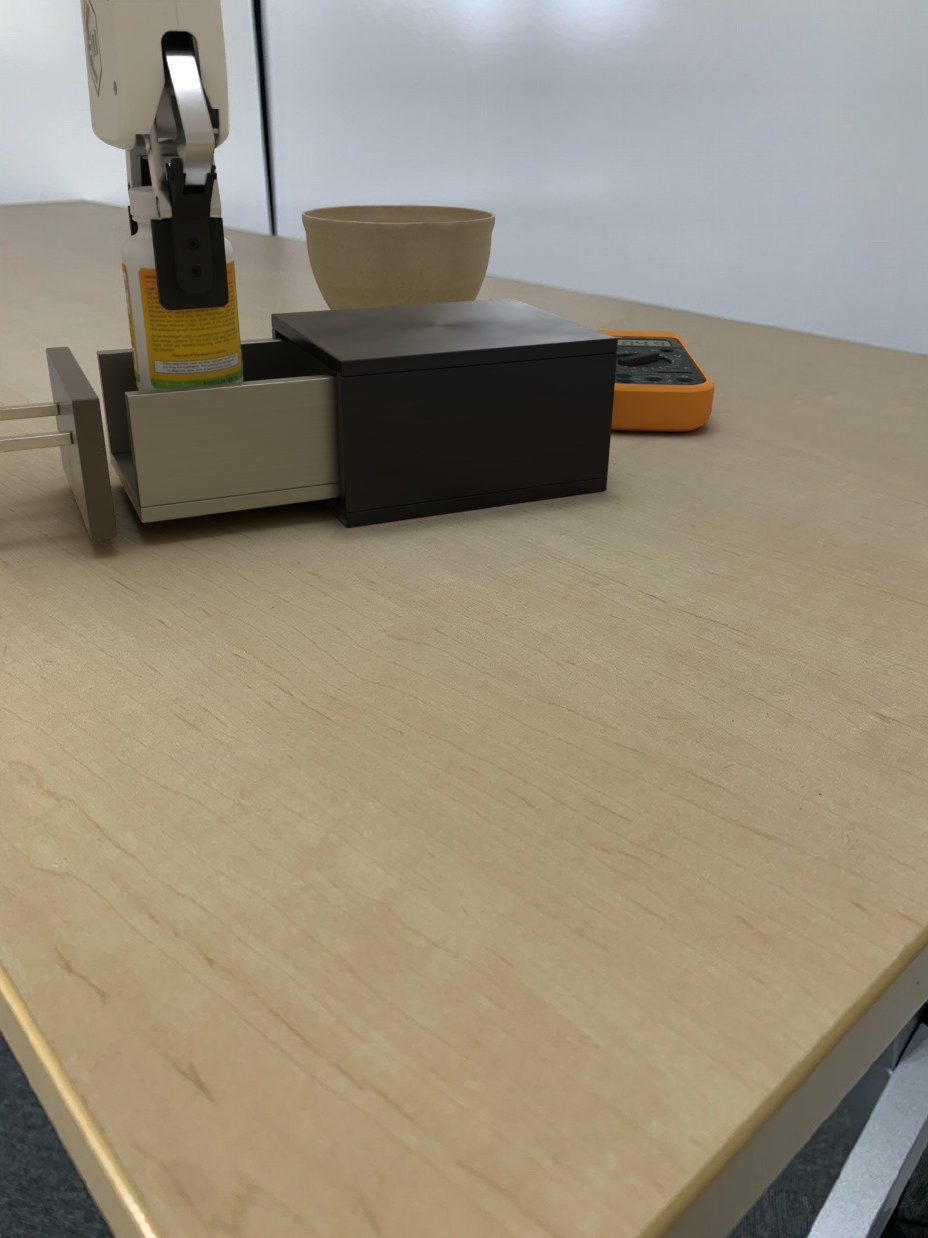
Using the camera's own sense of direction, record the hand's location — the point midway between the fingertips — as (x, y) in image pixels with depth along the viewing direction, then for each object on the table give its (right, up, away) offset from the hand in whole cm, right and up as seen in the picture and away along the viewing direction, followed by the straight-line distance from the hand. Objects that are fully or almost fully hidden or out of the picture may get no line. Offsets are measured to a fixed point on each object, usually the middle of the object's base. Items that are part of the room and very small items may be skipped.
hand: (181, 292), depth 55 cm
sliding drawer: (-2, -10, +4) cm, 10 cm away
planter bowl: (+8, +8, +42) cm, 44 cm away
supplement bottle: (0, -5, +2) cm, 5 cm away
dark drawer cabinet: (+13, -8, +10) cm, 18 cm away
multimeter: (+27, 0, +26) cm, 37 cm away
